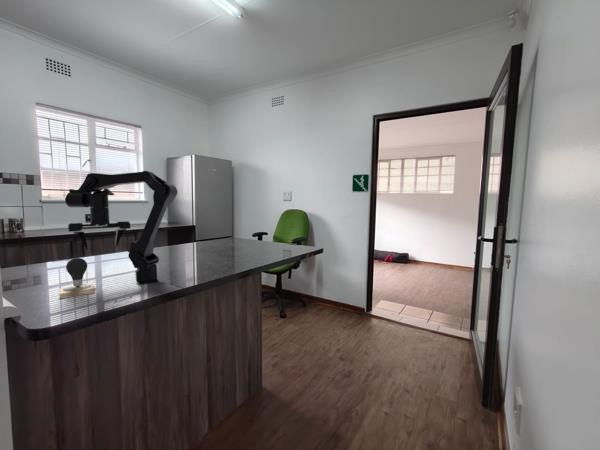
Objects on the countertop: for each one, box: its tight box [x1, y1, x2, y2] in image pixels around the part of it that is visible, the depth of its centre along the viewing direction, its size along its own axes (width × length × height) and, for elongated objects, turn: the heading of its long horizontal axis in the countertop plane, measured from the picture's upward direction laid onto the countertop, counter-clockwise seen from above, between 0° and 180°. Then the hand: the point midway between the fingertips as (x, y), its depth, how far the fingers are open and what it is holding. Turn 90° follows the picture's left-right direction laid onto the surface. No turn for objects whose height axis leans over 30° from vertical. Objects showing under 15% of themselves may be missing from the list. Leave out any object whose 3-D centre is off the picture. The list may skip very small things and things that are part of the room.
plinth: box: [59, 282, 96, 299], centre depth 94 cm, size 9×9×2 cm
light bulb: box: [65, 257, 88, 287], centre depth 94 cm, size 6×6×10 cm
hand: (101, 248), depth 105 cm, fingers open, 9 cm apart
